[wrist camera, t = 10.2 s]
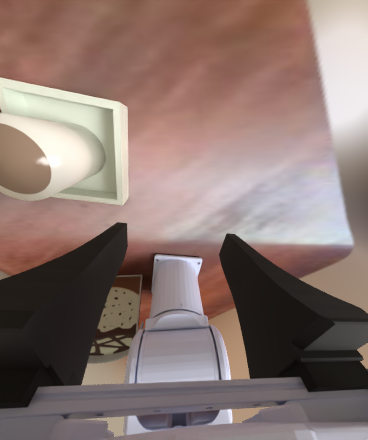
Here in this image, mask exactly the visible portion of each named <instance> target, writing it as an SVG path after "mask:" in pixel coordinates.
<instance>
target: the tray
mask: <svg viewBox="0 0 368 440" xmlns="http://www.w3.org/2000/svg"><path fill="white" fill-rule="evenodd" d="M0 109H1V112H2V113H3V114H10V115H17V116H24V117H31V118H37V119H44V120H51V121H58V122H65V123H71V124H78V125H81V126H84V127H86V128H87V129H89V130H90V131H92V132H93V133H94V134H95V135H96V136H97V137H98V139H99V140H100V141H101V143H102V145H103V147H104V150H105V156H106V160H105V165H104V167H103V169H102V170H101V171H100V172H99V173H97V174H95V175H93V176H91V177H89V178H87V179H85V180H83V181H81V182H79V183H77V184H75V185H73V186H70V187H68V188H66V189H64V190H62V191H60V192H58V193H56V194H54V195H52V196H50V197H56V198H65V199H73V200H82V201H90V202H99V203H107V204H115V205H124V203H125V202H126V200H127V199H128V198H129V192H128V107H126V106H125V105H123V104H122V103H120V102H116V101H111V100H106V99H101V98H97V97H92V96H87V95H82V94H77V93H72V92H67V91H63V90H58V89H53V88H48V87H43V86H38V85H33V84H29V83H24V82H19V81H14V80H9V79H4V78H0Z"/></svg>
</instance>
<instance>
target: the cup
mask: <svg viewBox="0 0 368 440" xmlns="http://www.w3.org/2000/svg"><path fill="white" fill-rule="evenodd" d="M105 160H106V156H105V150H104V147H103V145H102V143H101V141H100V140H99V139H98V137H97V136H96V135H95V134H94V133H93V132H92V131H90V130H89V129H87V128H86V127H84V126H81V125H78V124H71V123H65V122H58V121H51V120H44V119H37V118H31V117H24V116H17V115H10V114H3V113H0V192H1V193H3V194H6V195H8V196H10V197H13V198H16V199H20V200H25V201H38V200H43V199H46V198H48V197H50V196H52V195H54V194H56V193H58V192H60V191H62V190H64V189H66V188H68V187H70V186H73V185H75V184H77V183H79V182H81V181H83V180H85V179H87V178H89V177H91V176H93V175H95V174H97V173H99V172H100V171H101V170H102V169H103V167H104V165H105Z"/></svg>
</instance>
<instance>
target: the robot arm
mask: <svg viewBox="0 0 368 440" xmlns="http://www.w3.org/2000/svg"><path fill="white" fill-rule="evenodd" d="M127 247H128V245H127V223H119V222H117V223H116V224H114V225H113V226H111V227H110V228H109V229H107V230H106V231H104V232H103V233H101V234H100V235H98V236H97V237H95V238H94V239H92V240H90V241H89V242H87V243H85V244H84V245H82V246H80V247H78V248H77V249H75V250H73V251H71V252H69V253H67V254H65V255H63V256H61V257H59V258H56V259H54V260H52V261H49V262H47V263H45V264H42V265H40V266H38V267H35V268H33V269H30V270H27V271H25V272H22V273H19V274H16V275H13V276H11V277H8V278H5V279H2V280H0V440H368V369H366V368H365V367H364V366H363V365H362V363H361V362H360V361H362V360H363V357H362V355H360V353H359V352H358V351H357V349H358V348H360V347H362V346H363V345H365V344H366V343H368V314H367V313H366V312H365V311H364V310H362V309H361V308H359V307H357V306H354V305H352V304H350V303H347V302H345V301H343V300H340V299H338V298H336V297H333V296H331V295H329V294H327V293H325V292H323V291H321V290H319V289H316V288H314V287H313V286H311V285H309V284H307V283H305V282H303V281H301V280H299V279H298V278H296V277H294V276H292V275H291V274H289V273H287V272H286V271H284V270H282V269H281V268H279V267H278V266H276V265H275V264H273V263H272V262H270V261H269V260H268V259H266V258H265V257H263V256H262V255H261V254H259V253H258V252H257V251H256V250H254V249H253V248H252V247H250V246H249V245H248V244H247V243H246V242H244V241H243V240H242V239H240V238H239V237H238V236H236V235H235V234H226V237H225V240H224V242H223V245H222V248H221V250H220V253H219V256H220V261H221V265H222V268H223V271H224V274H225V277H226V279H227V282H228V285H229V288H230V290H231V293H232V296H233V299H234V302H235V306H236V310H237V314H238V318H239V322H240V326H241V331H242V336H243V341H244V345H245V351H246V357H247V363H248V368H249V374H250V379H237V380H236V379H235V380H231V376H230V368H229V362H228V356H227V352H226V348H225V344H224V341H223V338H222V335H221V333H220V332H219V331H218V329H217V328H216V327H215V326H214V325H209V324H208V318H207V316H204V315H203V309H202V303H201V297H200V291H199V286H198V280H197V277H198V274H199V270H200V267H201V264H202V258H198V257H186V256H173V255H161V254H156V255H155V257H154V268H153V279H152V289H151V292H152V293H153V295H152V303H151V311H150V318H149V319H146V325H145V329H140V330H139V331H138V332H137V334H136V335H135V336H134V338H133V340H132V342H131V345H130V349H129V353H128V358H127V364H126V371H125V380H124V384H103V385H81V384H82V380H83V377H84V373H85V369H86V366H87V362H88V359H89V355H90V352H91V348H92V345H93V341H94V338H95V335H96V331H97V328H98V325H99V322H100V319H101V315H102V312H103V309H104V306H105V303H106V300H107V297H108V294H109V292H110V289H111V287H112V285H113V283H114V280H115V278H116V276H117V274H118V271H119V269H120V267H121V265H122V262H123V260H124V257H125V254H126V250H127ZM156 259H158V260H156ZM198 262H199V263H198ZM272 406H275V407H272ZM256 407H270V408H266V409H261V410H260V411H259V413H258V414H257V415H255V416H253V417H252V418H249V419H247V420H245V421H243V422H242V423H232V410H231V409H240V408H241V409H242V408H256ZM121 416H124V429H123V431H124V434H125V436H118V437H114V434H113V432H111V431H109V430H107V427H108V423H107V421H98V420H83V419H90V418H105V417H121Z"/></svg>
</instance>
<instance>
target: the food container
mask: <svg viewBox="0 0 368 440" xmlns="http://www.w3.org/2000/svg"><path fill="white" fill-rule="evenodd" d="M142 280H143V275H122V276H116V278H115V280H114V283H113V285H112V287H111V289H110V292H109V294H108V297H107V300H106V303H105V306H104V309H103V312H102V315H101V319H100V322H99V325H98V328H97V331H96V335H95V338H94V341H93V345H92V348H91V352H90V355H89V359H88V362H87V363H106V362H111V361H115V360H119V359H121V358H124V357H126V356H127V355H128V353H129V349H130V345H131V342H132V340H133V338H134V336H135V335H136V334H137V332H138V326H139V315H140V303H141V292H142ZM143 326H144V324H143V321H142V323H141V326H140V329H143ZM140 329H139V330H140Z"/></svg>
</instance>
